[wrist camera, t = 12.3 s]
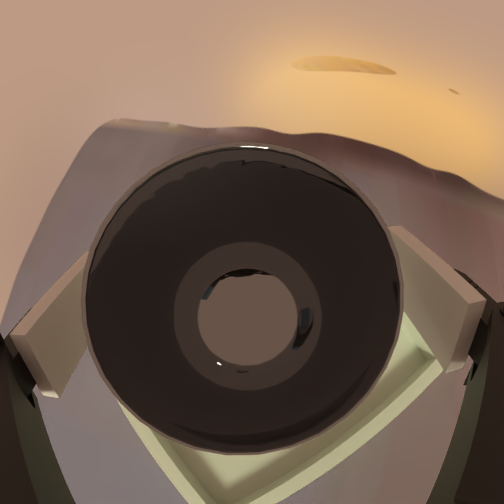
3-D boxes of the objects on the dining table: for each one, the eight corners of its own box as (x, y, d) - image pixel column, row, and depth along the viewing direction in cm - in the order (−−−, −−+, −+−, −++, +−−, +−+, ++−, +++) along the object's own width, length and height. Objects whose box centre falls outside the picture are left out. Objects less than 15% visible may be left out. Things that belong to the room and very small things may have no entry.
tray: (282, 172, 27) (283, 154, 25) (437, 361, 21) (453, 358, 18) (82, 303, 23) (66, 295, 21) (220, 519, 17) (215, 533, 15)
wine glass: (314, 288, 22) (383, 148, 8) (312, 402, 20) (405, 449, 6) (201, 284, 23) (116, 147, 9) (193, 396, 20) (66, 424, 6)
